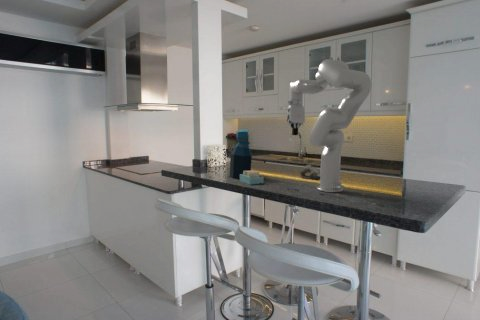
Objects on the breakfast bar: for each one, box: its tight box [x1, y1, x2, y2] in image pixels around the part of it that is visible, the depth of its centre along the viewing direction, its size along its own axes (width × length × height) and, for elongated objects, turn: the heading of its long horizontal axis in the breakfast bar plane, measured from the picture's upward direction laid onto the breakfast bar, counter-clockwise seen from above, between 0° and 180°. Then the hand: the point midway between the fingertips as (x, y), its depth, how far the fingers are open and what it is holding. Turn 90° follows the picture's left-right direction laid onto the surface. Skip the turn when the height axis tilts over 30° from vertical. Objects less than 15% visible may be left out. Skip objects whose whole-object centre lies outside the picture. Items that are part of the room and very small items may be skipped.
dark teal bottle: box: [229, 129, 253, 180], centre depth 193 cm, size 21×14×30 cm, turn 179°
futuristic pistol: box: [299, 164, 321, 181], centre depth 187 cm, size 2×15×10 cm, turn 53°
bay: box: [239, 174, 265, 185], centre depth 175 cm, size 12×9×4 cm
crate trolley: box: [243, 169, 260, 178], centre depth 175 cm, size 8×7×6 cm
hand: (295, 135), depth 178 cm, fingers closed
